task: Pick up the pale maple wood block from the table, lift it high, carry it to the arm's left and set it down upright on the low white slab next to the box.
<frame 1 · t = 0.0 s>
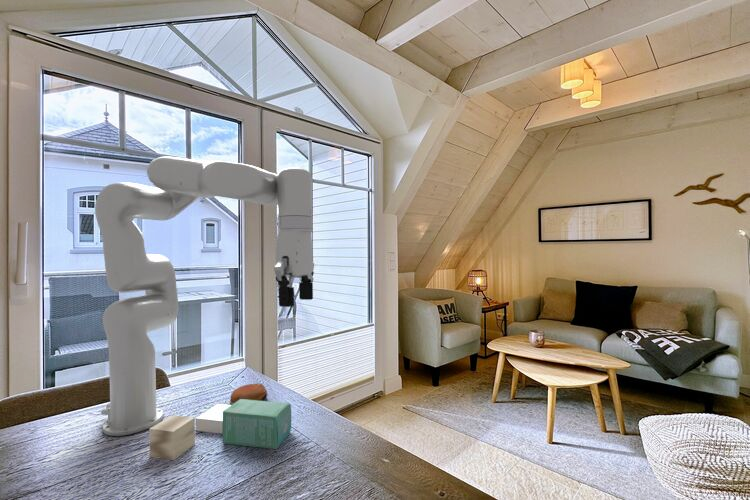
hand: (297, 302, 78), 31 cm above the table, fingers open, 9 cm apart
box: (258, 439, 80), on the table
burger: (249, 404, 99), on the table
white slab: (221, 423, 87), on the table
maple block: (173, 450, 76), on the table
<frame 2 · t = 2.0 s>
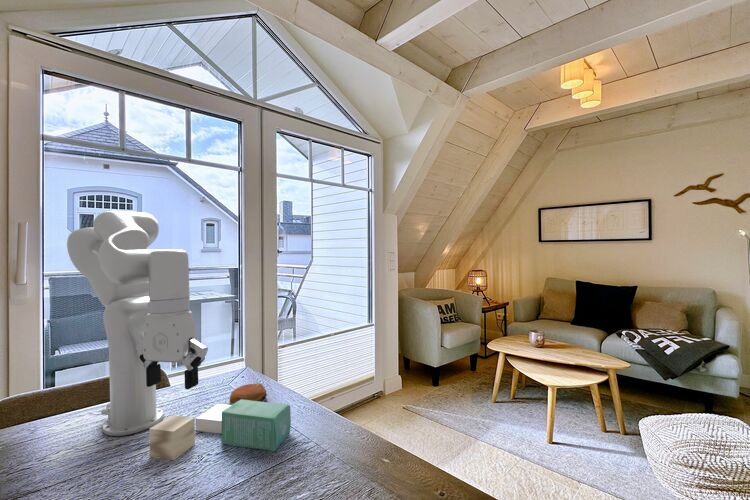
hand: (172, 385, 76), 14 cm above the table, fingers open, 9 cm apart
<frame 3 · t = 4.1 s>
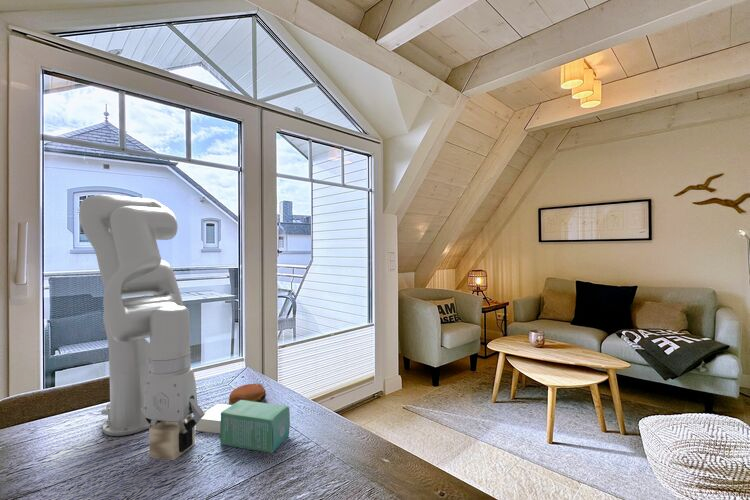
hand: (172, 445, 76), 1 cm above the table, fingers closed on maple block, 6 cm apart
maple block: (172, 450, 76), on the table, touching gripper
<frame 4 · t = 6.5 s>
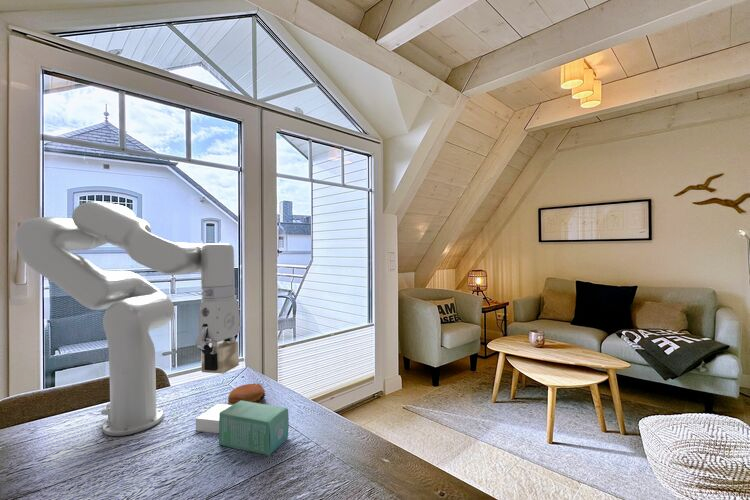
hand: (220, 364, 87), 15 cm above the table, fingers closed on maple block, 6 cm apart
maple block: (220, 368, 87), point 14 cm above the table, touching gripper
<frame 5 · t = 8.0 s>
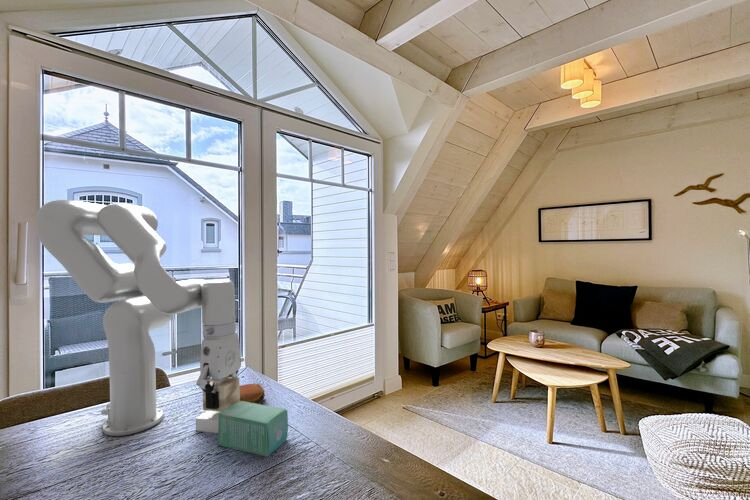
hand: (221, 401, 87), 6 cm above the table, fingers closed on maple block, 6 cm apart
maple block: (222, 405, 87), point 5 cm above the table, touching gripper
when the fingers open (5 cm above the table, at t = 9.0 s): maple block drops 1 cm, resting on white slab.
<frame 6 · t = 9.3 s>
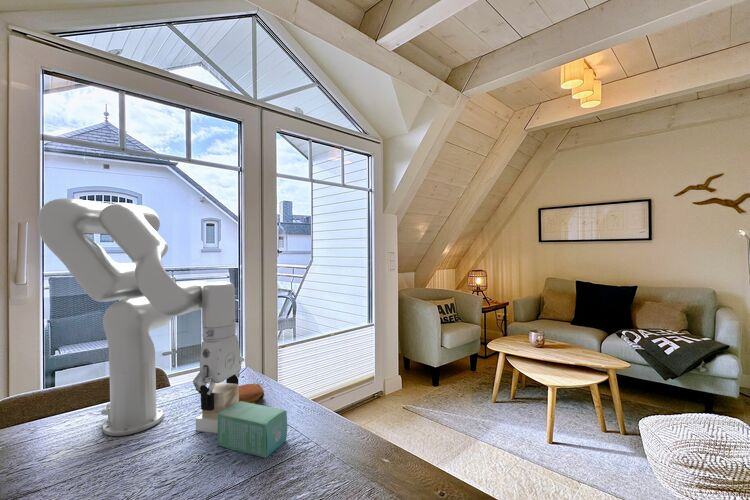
hand: (220, 401, 87), 6 cm above the table, fingers open, 9 cm apart
maple block: (221, 411, 87), point 3 cm above the table, touching white slab
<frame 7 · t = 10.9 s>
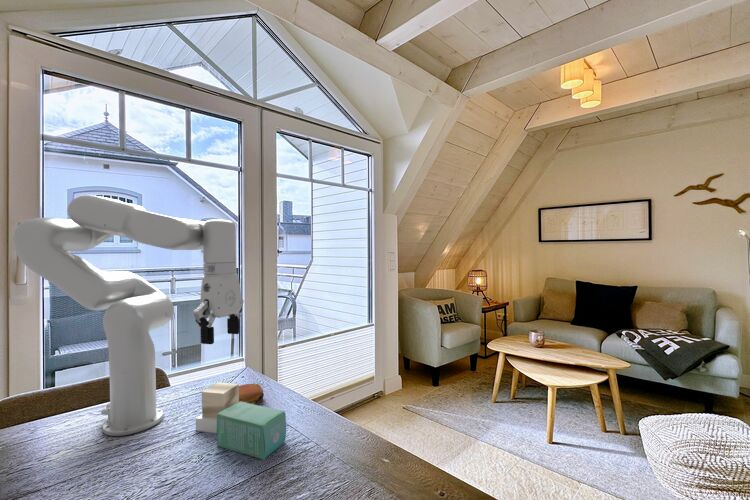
hand: (221, 338, 87), 21 cm above the table, fingers open, 9 cm apart
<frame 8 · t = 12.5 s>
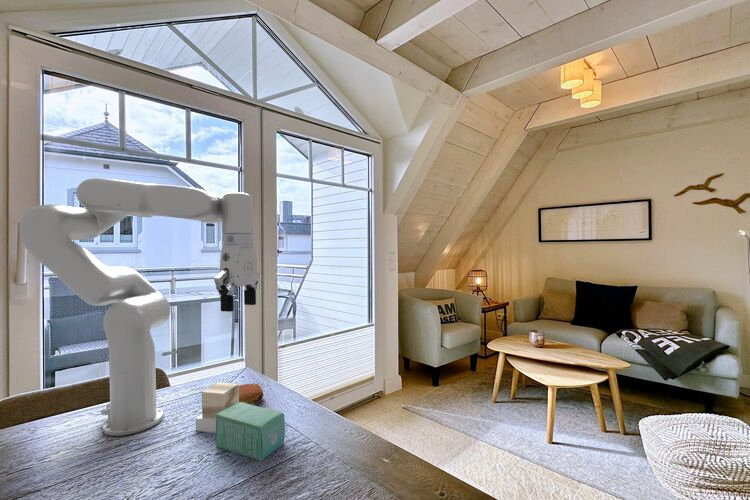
hand: (239, 307, 90), 28 cm above the table, fingers open, 9 cm apart
at the end: maple block 0.0 cm from the white slab (horizontally); maple block point 3.0 cm above the table; maple block tilted 0° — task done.
